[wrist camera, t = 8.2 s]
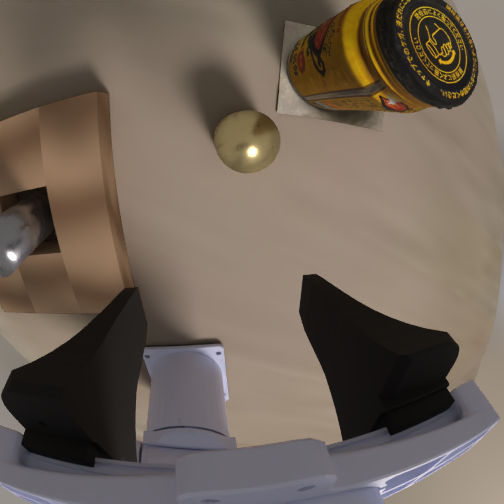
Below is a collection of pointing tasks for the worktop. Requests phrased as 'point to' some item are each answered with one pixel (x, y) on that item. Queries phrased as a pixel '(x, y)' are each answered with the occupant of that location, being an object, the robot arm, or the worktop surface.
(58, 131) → the hole block
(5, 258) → the grey cylinder
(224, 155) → the short stub
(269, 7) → the worktop surface
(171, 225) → the worktop surface
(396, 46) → the condiment
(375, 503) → the robot arm
